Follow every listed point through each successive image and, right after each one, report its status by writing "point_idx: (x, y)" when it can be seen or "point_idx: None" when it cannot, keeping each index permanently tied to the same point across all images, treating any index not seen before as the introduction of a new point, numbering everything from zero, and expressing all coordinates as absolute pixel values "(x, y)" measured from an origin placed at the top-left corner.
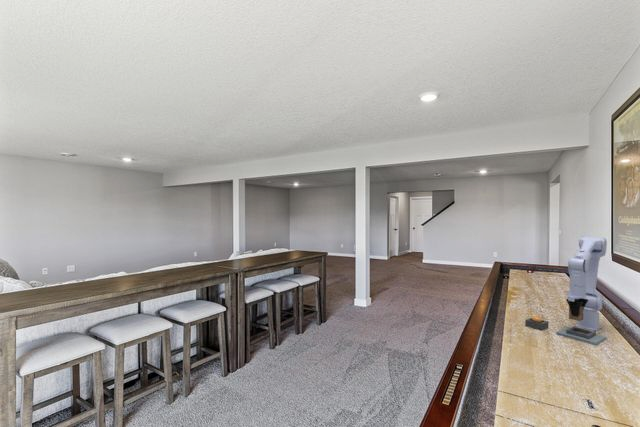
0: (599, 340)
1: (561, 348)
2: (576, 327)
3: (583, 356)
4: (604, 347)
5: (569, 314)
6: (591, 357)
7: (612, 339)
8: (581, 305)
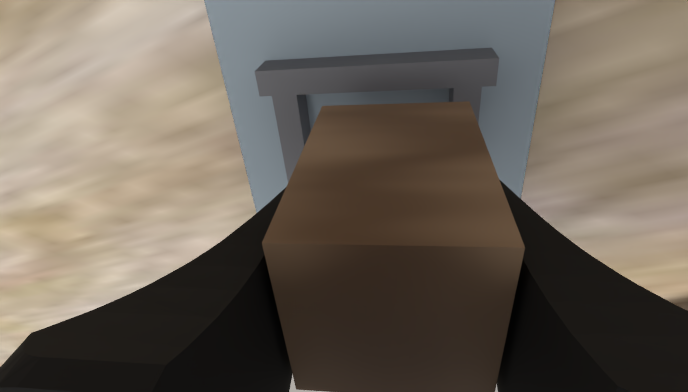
0: None
1: None
2: (470, 93)
3: (26, 252)
4: None
5: (310, 141)
6: (61, 274)
7: None
8: (509, 386)
